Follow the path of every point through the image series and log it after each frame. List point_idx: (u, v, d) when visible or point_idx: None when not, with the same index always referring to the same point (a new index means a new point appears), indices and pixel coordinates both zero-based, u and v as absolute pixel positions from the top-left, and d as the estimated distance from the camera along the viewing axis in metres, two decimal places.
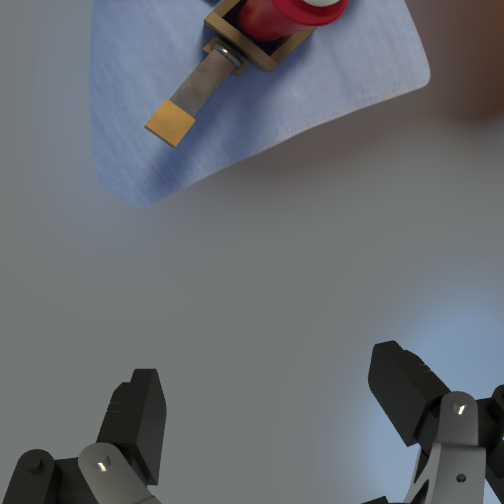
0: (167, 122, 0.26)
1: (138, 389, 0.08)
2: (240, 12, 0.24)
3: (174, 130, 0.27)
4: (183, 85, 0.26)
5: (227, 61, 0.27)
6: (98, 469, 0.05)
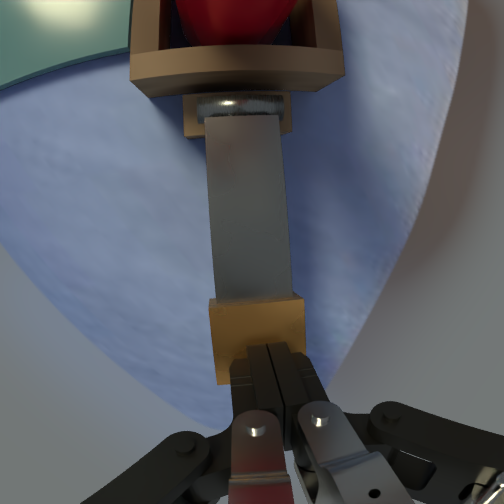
0: None
1: (260, 361, 0.10)
2: (183, 17, 0.10)
3: None
4: (216, 246, 0.12)
5: (253, 120, 0.12)
6: (260, 435, 0.07)
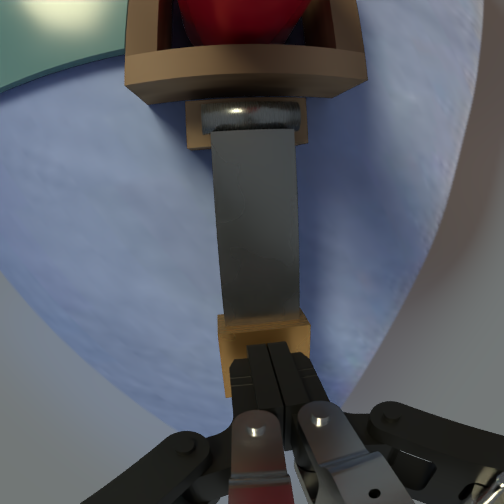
0: None
1: (260, 361, 0.10)
2: (185, 13, 0.09)
3: None
4: (225, 273, 0.12)
5: (265, 135, 0.11)
6: (260, 435, 0.07)
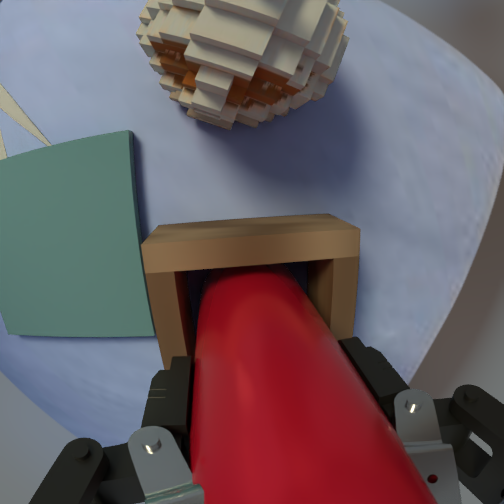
0: None
1: (179, 375, 0.09)
2: None
3: None
4: None
5: None
6: (151, 452, 0.06)
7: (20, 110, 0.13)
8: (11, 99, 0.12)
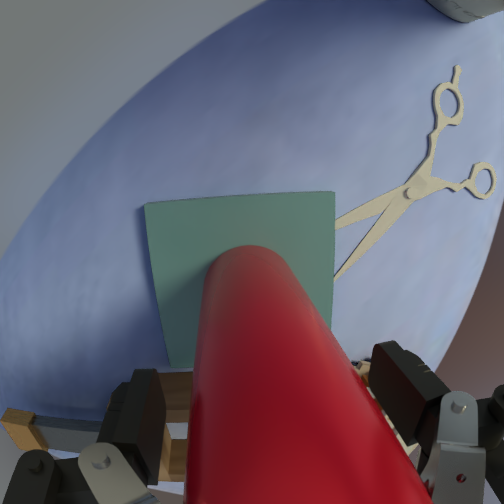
0: (19, 436, 0.16)
1: (138, 389, 0.08)
2: None
3: (22, 443, 0.16)
4: (53, 429, 0.17)
5: None
6: (98, 469, 0.05)
7: (368, 247, 0.20)
8: (381, 234, 0.20)
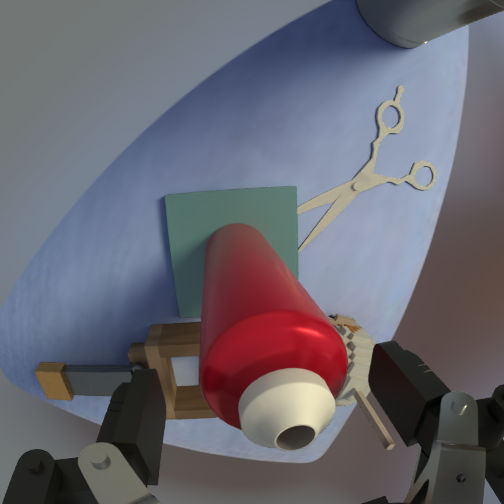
0: (50, 384, 0.24)
1: (138, 389, 0.08)
2: None
3: (52, 391, 0.24)
4: (81, 373, 0.25)
5: None
6: (98, 469, 0.05)
7: (324, 227, 0.28)
8: (334, 217, 0.28)
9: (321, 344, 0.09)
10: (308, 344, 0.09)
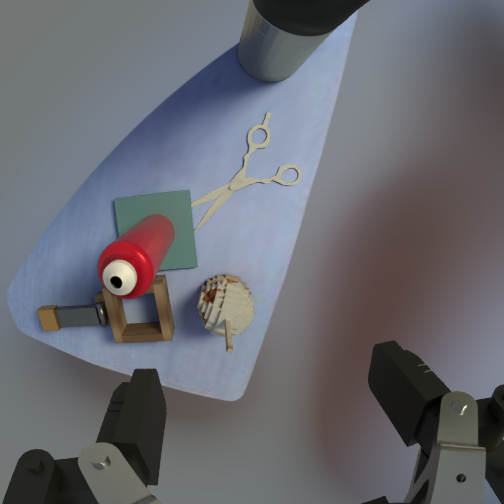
0: (46, 319, 0.40)
1: (138, 389, 0.08)
2: None
3: (47, 324, 0.40)
4: (66, 310, 0.41)
5: (96, 319, 0.42)
6: (98, 469, 0.05)
7: (211, 214, 0.44)
8: (217, 208, 0.43)
9: (134, 253, 0.25)
10: (128, 252, 0.25)
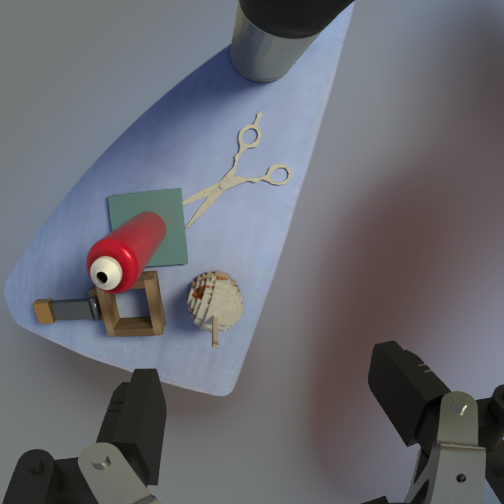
0: (41, 312, 0.41)
1: (138, 389, 0.08)
2: None
3: (42, 317, 0.41)
4: (60, 303, 0.42)
5: (89, 313, 0.43)
6: (98, 469, 0.05)
7: (202, 212, 0.44)
8: (208, 206, 0.44)
9: (120, 250, 0.26)
10: (114, 249, 0.26)
